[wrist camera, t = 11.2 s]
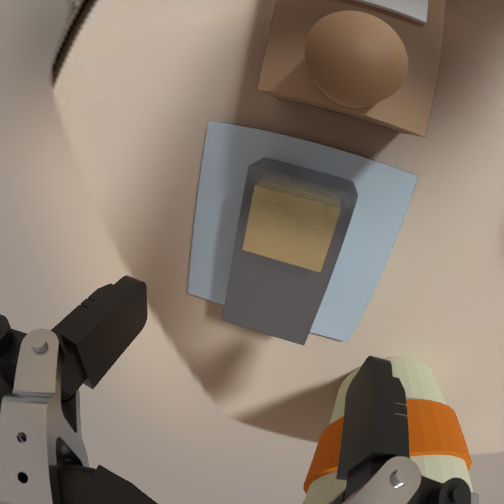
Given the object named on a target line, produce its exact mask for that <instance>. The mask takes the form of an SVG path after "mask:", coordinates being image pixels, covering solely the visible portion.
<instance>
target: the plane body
mask: <svg viewBox="0 0 504 504" xmlns="http://www.w3.org/2000/svg"><path fill="white" fill-rule="evenodd" d="M445 11H446V0H277V1H276V5H275V10H274V14H273V19H272V23H271V27H270V32H269V37H268V41H267V46H266V50H265V55H264V60H263V65H262V69H261V74H260V79H259V84H258V89H257V90H260V91H262V92H265V93H267V94H269V95H272V96H274V97H276V98H280V99H285V100H290V101H295V102H299V103H304V104H308V105H312V106H316V107H320V108H324V109H328V110H332V111H335V112H339V113H342V114H346V115H349V116H353V117H356V118H359V119H362V120H366V121H369V122H372V123H375V124H378V125H381V126H384V127H386V128H389V129H392V130H395V131H397V132H400V133H405V134H411V135H416V136H422V137H425V134H426V130H427V126H428V122H429V117H430V113H431V108H432V104H433V99H434V94H435V89H436V83H437V78H438V72H439V66H440V59H441V52H442V44H443V35H444V24H445Z"/></svg>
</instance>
